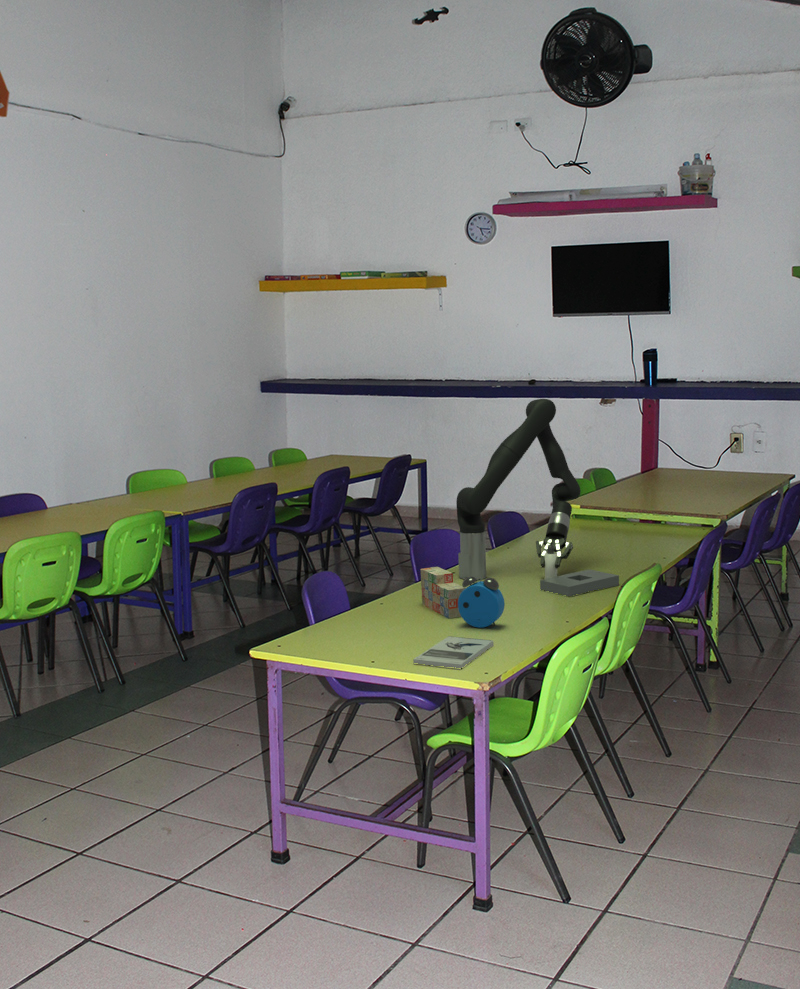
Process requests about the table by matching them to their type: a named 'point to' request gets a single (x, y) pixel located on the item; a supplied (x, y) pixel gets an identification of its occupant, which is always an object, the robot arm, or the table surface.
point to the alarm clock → (480, 602)
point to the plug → (550, 563)
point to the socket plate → (579, 582)
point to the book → (454, 652)
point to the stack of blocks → (440, 591)
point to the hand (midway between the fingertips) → (549, 566)
